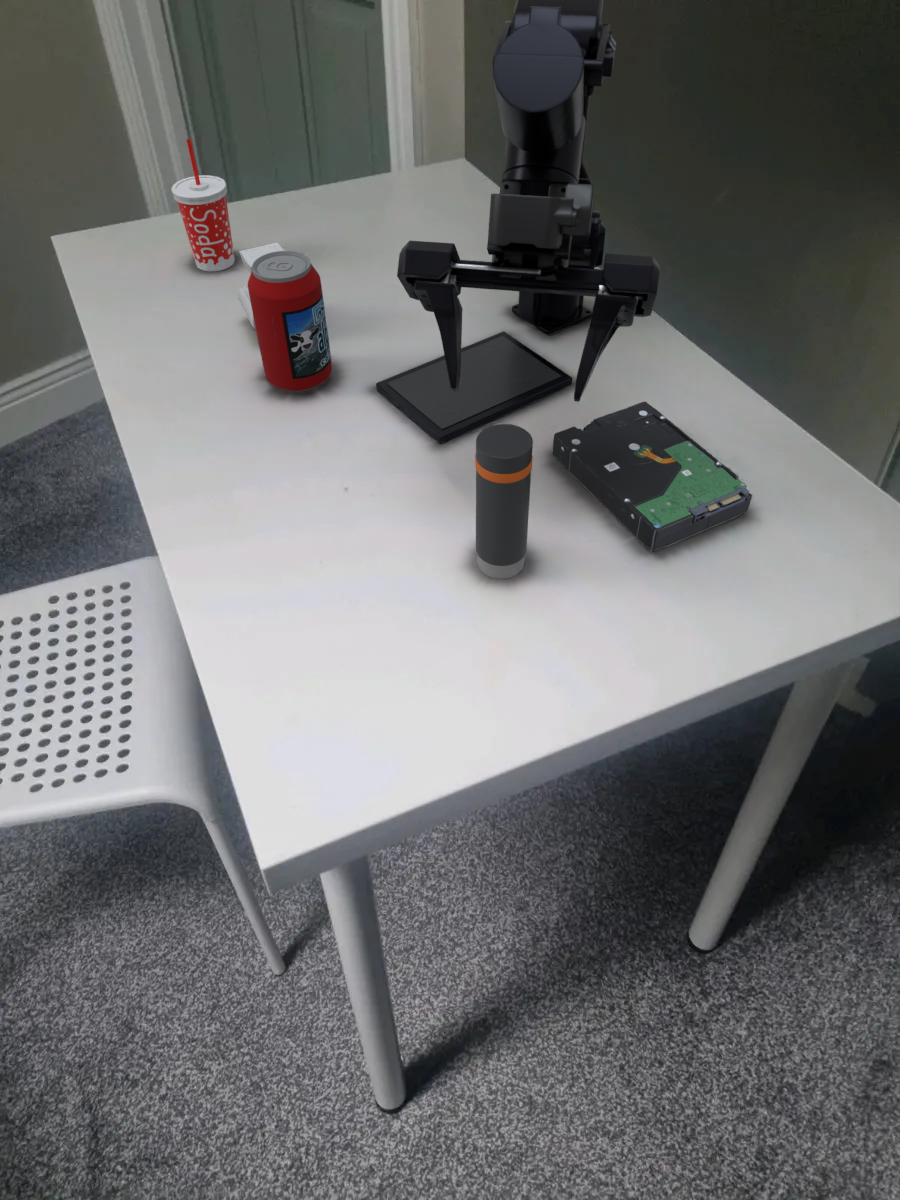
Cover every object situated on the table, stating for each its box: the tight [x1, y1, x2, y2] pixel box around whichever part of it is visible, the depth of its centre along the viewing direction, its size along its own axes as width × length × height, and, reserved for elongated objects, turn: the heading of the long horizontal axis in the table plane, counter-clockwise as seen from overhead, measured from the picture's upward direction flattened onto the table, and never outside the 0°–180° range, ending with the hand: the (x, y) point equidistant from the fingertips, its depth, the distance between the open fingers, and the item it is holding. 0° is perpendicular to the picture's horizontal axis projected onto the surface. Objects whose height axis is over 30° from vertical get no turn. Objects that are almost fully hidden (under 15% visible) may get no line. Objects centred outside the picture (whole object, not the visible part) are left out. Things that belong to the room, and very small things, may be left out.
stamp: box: [237, 242, 285, 331], centre depth 94 cm, size 9×7×8 cm
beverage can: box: [247, 250, 333, 392], centre depth 86 cm, size 7×7×12 cm
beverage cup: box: [170, 137, 236, 272], centre depth 102 cm, size 6×6×14 cm
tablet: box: [375, 330, 573, 445], centre depth 88 cm, size 16×11×1 cm
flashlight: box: [474, 423, 534, 580], centre depth 67 cm, size 4×4×12 cm
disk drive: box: [551, 401, 753, 552], centre depth 77 cm, size 10×3×15 cm
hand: (514, 395), depth 67 cm, fingers open, 9 cm apart
